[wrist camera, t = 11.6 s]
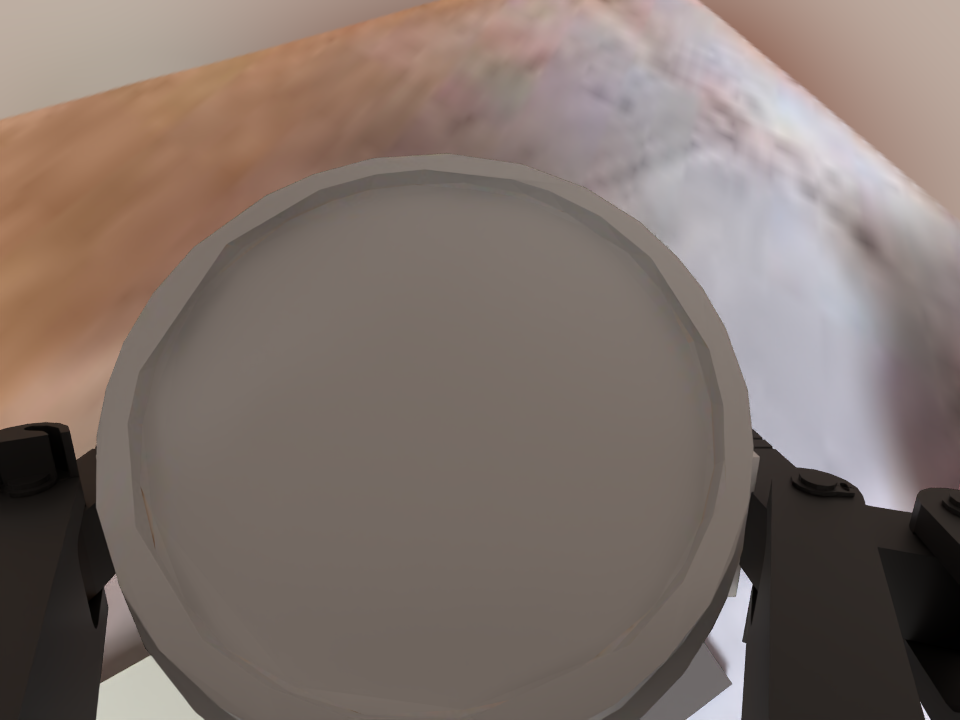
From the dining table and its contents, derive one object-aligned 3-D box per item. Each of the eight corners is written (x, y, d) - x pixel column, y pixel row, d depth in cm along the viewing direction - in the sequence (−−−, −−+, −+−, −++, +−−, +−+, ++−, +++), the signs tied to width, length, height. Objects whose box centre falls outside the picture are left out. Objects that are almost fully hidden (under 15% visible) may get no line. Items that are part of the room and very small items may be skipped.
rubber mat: (199, 457, 25) (193, 452, 24) (480, 320, 28) (481, 313, 28) (382, 944, 18) (380, 953, 17) (725, 683, 21) (732, 684, 21)
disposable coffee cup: (463, 358, 22) (464, 61, 11) (660, 558, 18) (932, 412, 8) (238, 532, 18) (-69, 351, 8) (429, 809, 15) (353, 1140, 5)
